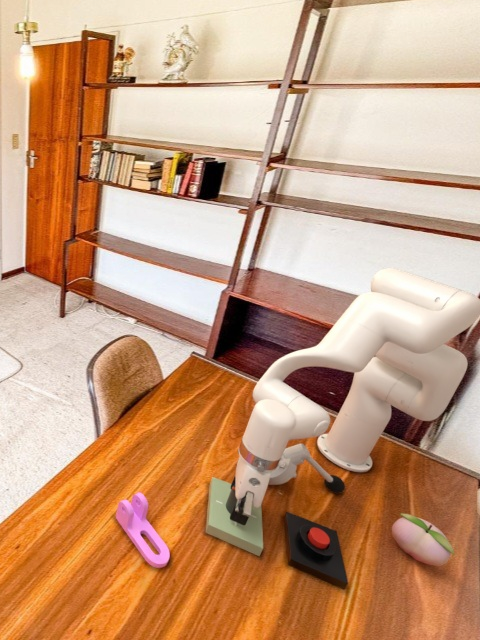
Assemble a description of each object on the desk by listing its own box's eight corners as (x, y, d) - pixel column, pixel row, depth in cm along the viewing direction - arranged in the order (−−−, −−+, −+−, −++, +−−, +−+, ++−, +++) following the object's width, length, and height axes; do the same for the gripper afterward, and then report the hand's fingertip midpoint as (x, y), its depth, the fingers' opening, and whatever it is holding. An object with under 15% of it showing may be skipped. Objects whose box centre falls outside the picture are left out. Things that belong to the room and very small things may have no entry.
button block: (283, 516, 94) (288, 506, 93) (333, 536, 91) (339, 526, 89) (287, 565, 85) (294, 553, 83) (344, 589, 81) (351, 578, 79)
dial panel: (209, 484, 102) (212, 476, 100) (257, 503, 97) (261, 494, 96) (205, 532, 90) (208, 524, 89) (259, 556, 86) (263, 547, 85)
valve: (295, 520, 104) (357, 506, 96) (247, 476, 100) (307, 456, 93) (284, 485, 112) (339, 468, 104) (239, 442, 109) (293, 422, 101)
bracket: (115, 517, 93) (119, 498, 90) (134, 508, 95) (138, 488, 92) (154, 572, 82) (160, 552, 79) (174, 560, 85) (180, 540, 82)
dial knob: (245, 505, 94) (253, 487, 91) (246, 521, 90) (254, 503, 87) (225, 497, 95) (232, 479, 92) (225, 513, 92) (232, 495, 89)
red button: (306, 529, 88) (309, 524, 87) (325, 537, 87) (328, 532, 86) (308, 544, 85) (311, 539, 85) (328, 552, 84) (331, 547, 83)
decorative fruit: (444, 562, 86) (468, 533, 82) (431, 583, 82) (456, 555, 78) (391, 525, 93) (410, 497, 89) (377, 543, 89) (397, 515, 85)
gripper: (282, 493, 76) (256, 548, 84) (276, 431, 90) (254, 483, 98) (239, 476, 79) (218, 531, 86) (239, 419, 93) (221, 470, 101)
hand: (237, 505), depth 92 cm, fingers open, 7 cm apart
